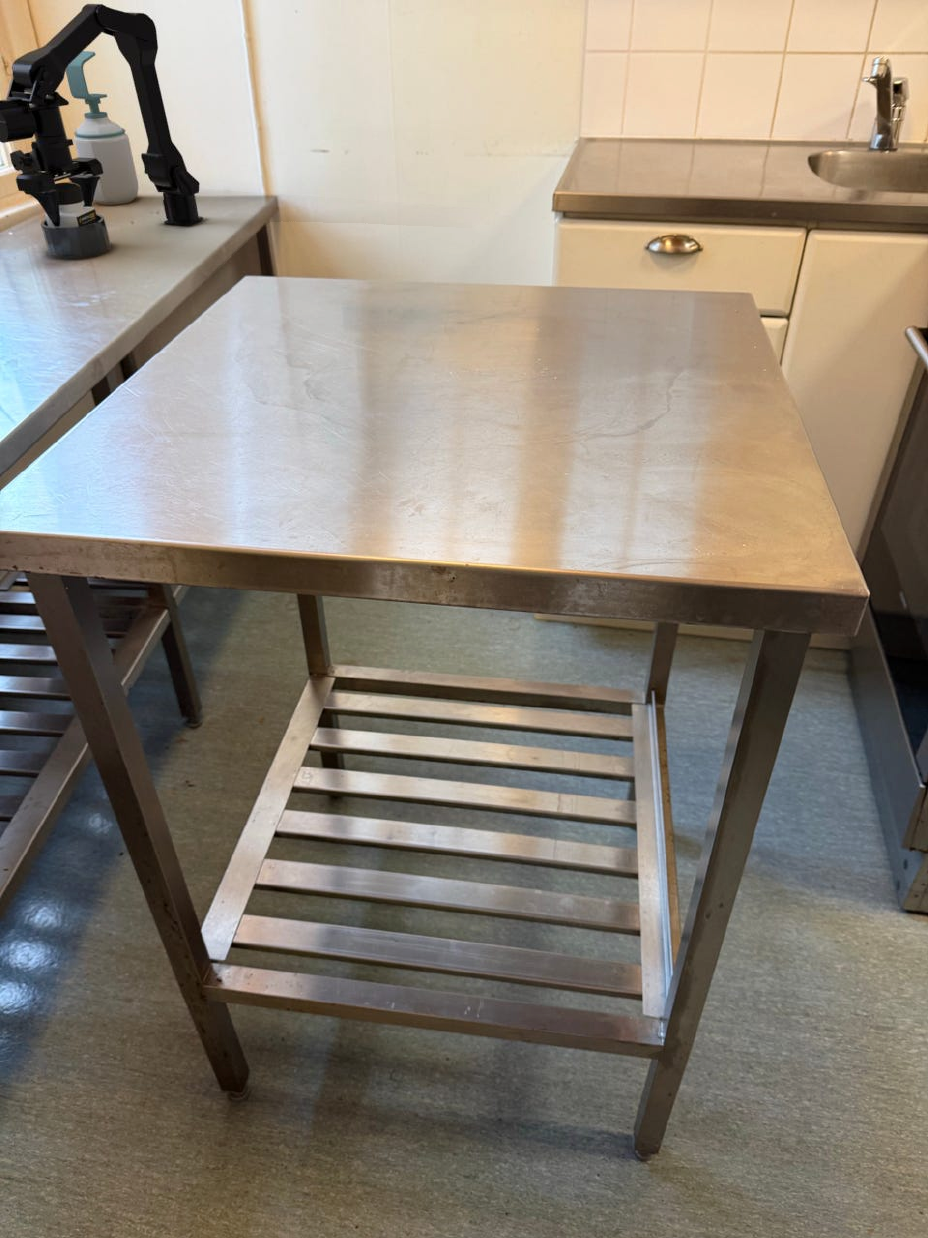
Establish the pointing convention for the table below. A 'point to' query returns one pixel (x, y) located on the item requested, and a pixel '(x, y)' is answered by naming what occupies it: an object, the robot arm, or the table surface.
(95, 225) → the dark grey round bowl
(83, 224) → the medicine bottle
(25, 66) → the robot arm
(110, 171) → the soap bottle
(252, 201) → the table surface
